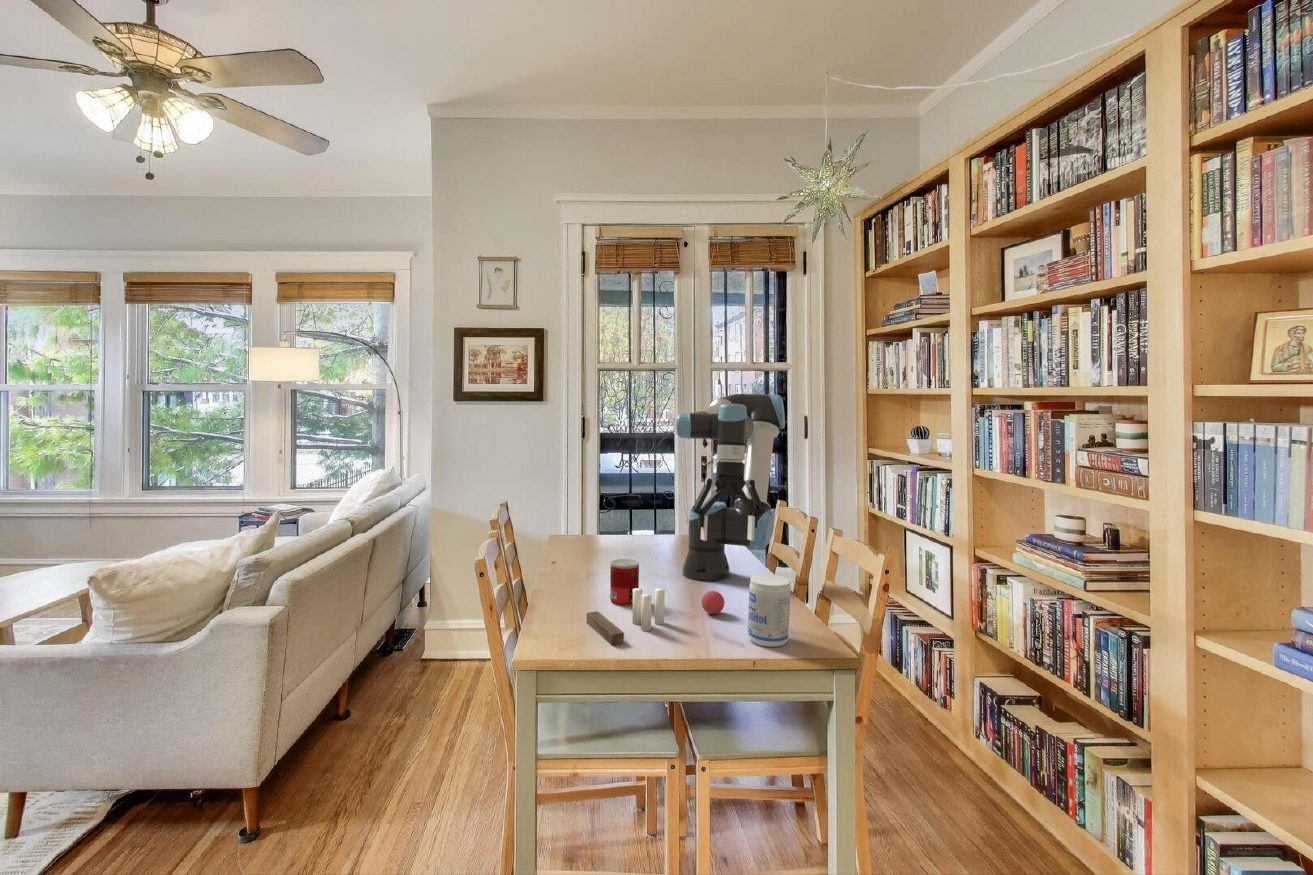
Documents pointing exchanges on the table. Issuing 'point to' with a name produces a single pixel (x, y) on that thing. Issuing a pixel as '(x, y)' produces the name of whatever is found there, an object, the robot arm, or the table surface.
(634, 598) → the pin
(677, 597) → the table surface
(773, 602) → the supplement tub
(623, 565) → the canned food
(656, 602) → the front pin
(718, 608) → the ball
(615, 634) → the brown wooden bar
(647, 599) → the pin
